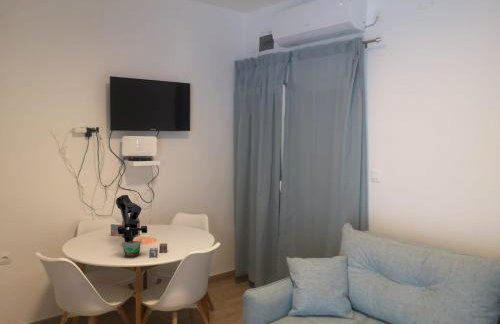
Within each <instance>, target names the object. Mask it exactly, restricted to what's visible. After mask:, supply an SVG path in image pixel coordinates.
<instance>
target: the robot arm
mask: <svg viewBox="0 0 500 324" xmlns="http://www.w3.org/2000/svg"><path fill="white" fill-rule="evenodd" d="M115 205H116V207H117V209H119V210H120V213H121V216H122V221H123V222H124V226H119V227H118V229H117V230H118V234H122V236H121V238H122V239H123V242H129V241H134V240H135V238H136V237H135V236H136V235H137V234H138V232H139V231H140V233H142V234H147V233H148V226H147V225H140V228H137V226H138V224H139V220H140V218H139V217H140V214H141V211H142V207H141V206H139V204H138V203H135V202H132V199H130V195H129V194H121V195H120V196H119V197H116V199H115Z"/></svg>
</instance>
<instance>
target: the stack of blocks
mask: <svg viewBox="0 0 500 324" xmlns="http://www.w3.org/2000/svg"><path fill="white" fill-rule="evenodd" d="M119 226H124V222H123V220H121V222H113V223H111V224H110V236H114V237H122V234H118V230H117V229H118V227H119ZM137 228H141V220H140V219H139V224H138V226H137ZM140 233H141V231H139V232H138V234H137V235H136V236H135V238H137V237H139V236H140V235H141V234H140Z"/></svg>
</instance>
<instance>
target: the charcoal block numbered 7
mask: <svg viewBox="0 0 500 324" xmlns="http://www.w3.org/2000/svg"><path fill="white" fill-rule="evenodd" d="M158 250H159V247H149V253H148V254H149V257H148V258H158V255H159V253H158Z"/></svg>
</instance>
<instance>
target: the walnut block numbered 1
mask: <svg viewBox="0 0 500 324" xmlns="http://www.w3.org/2000/svg"><path fill="white" fill-rule="evenodd" d="M158 250H159V253H158V254H165V253H166V254H167V253H168V243H166V242H165V243H164V242H163V243H159V247H158Z"/></svg>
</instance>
